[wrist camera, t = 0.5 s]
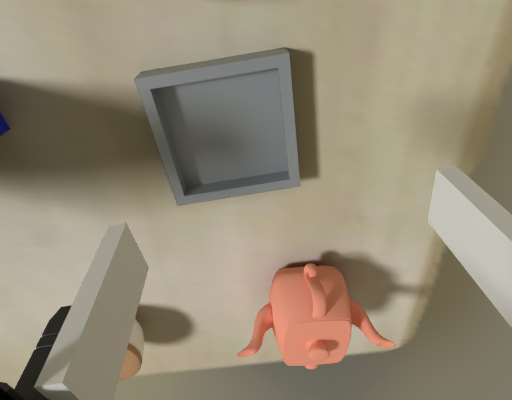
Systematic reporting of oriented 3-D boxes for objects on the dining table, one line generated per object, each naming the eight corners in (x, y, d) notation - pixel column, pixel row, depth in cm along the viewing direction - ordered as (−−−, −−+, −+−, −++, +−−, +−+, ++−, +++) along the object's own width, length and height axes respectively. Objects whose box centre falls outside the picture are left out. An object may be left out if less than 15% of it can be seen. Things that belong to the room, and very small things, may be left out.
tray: (140, 71, 35) (134, 79, 33) (285, 47, 35) (289, 52, 32) (180, 192, 44) (177, 205, 41) (296, 174, 43) (300, 186, 41)
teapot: (367, 281, 56) (399, 351, 45) (292, 327, 61) (305, 399, 51) (313, 233, 49) (336, 302, 39) (234, 289, 55) (235, 363, 44)
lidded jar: (147, 300, 55) (134, 353, 47) (152, 339, 61) (141, 392, 53) (79, 299, 54) (54, 354, 46) (91, 339, 59) (70, 393, 52)
